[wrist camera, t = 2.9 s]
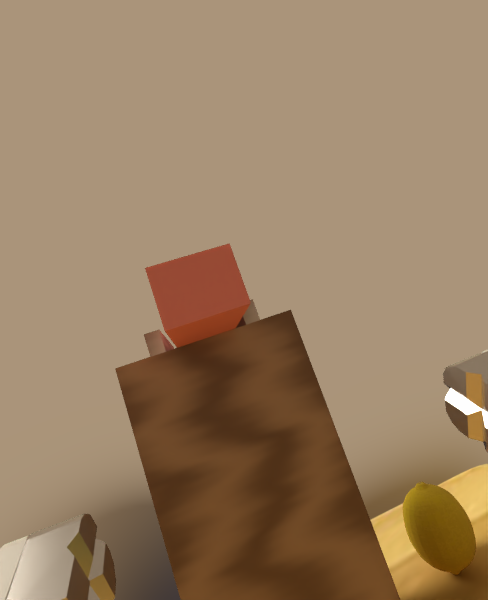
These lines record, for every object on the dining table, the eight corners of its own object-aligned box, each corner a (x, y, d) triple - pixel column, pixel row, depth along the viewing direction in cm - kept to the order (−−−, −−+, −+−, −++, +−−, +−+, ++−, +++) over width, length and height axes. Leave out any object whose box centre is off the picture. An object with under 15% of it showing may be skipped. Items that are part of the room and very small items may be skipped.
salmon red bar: (164, 331, 16) (145, 268, 16) (186, 360, 37) (177, 332, 38) (250, 303, 17) (229, 243, 17) (223, 347, 38) (214, 320, 39)
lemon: (485, 551, 34) (449, 465, 36) (496, 593, 29) (453, 491, 31) (424, 557, 37) (392, 475, 38) (425, 597, 32) (387, 501, 33)
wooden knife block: (254, 861, 19) (108, 345, 23) (234, 677, 30) (140, 357, 35) (453, 740, 21) (282, 289, 25) (363, 611, 32) (257, 318, 37)
